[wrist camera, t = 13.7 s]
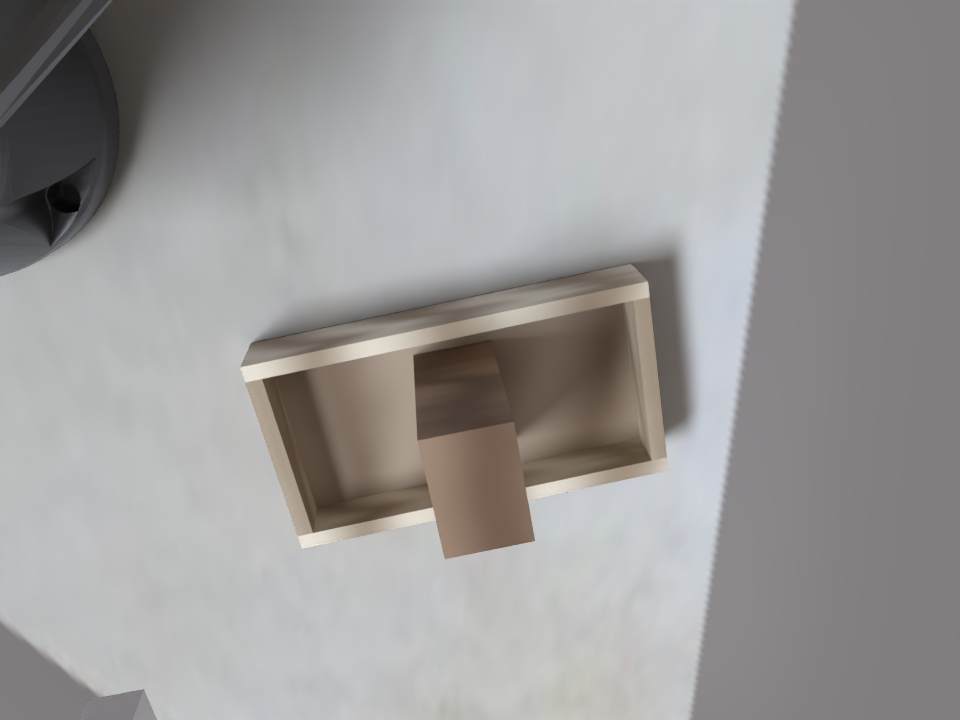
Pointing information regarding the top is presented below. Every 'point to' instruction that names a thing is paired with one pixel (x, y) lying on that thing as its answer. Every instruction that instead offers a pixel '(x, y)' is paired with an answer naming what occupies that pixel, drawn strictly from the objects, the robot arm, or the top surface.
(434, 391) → the tan wooden block
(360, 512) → the open wooden box
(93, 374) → the top surface
